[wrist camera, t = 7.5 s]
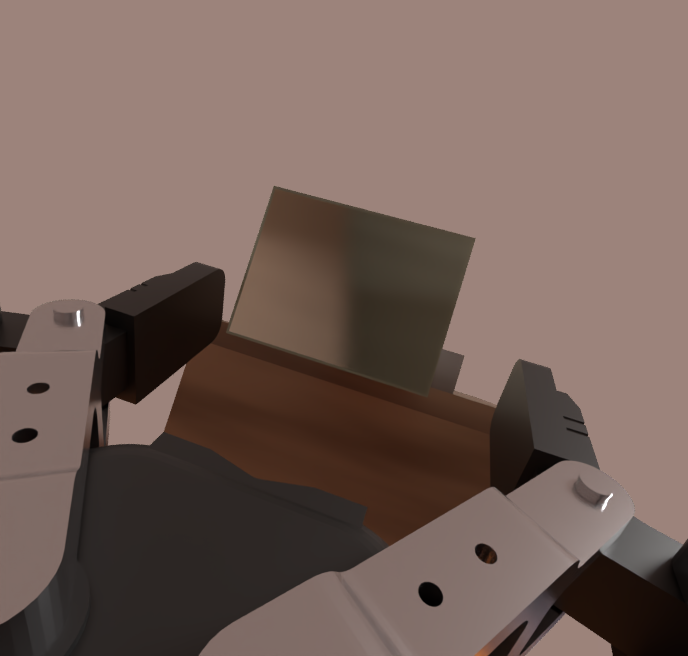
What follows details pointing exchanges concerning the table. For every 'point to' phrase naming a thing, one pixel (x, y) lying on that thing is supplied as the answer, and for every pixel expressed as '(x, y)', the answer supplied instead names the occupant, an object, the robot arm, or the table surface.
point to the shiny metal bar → (351, 289)
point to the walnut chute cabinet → (338, 430)
